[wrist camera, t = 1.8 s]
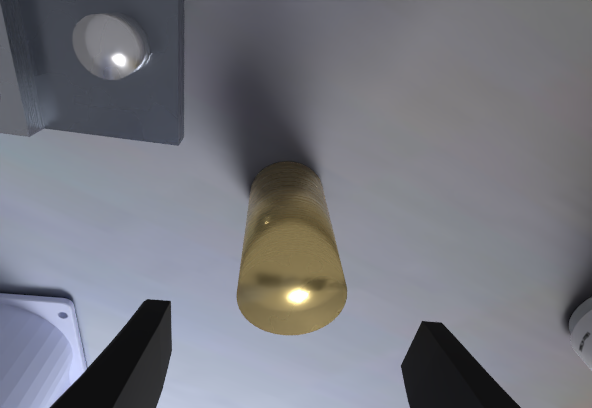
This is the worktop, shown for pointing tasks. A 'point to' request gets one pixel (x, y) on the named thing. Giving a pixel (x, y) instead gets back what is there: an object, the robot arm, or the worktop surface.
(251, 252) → the brass pin
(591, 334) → the energy drink can
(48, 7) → the studded plate with cutout
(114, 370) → the robot arm
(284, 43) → the worktop surface
